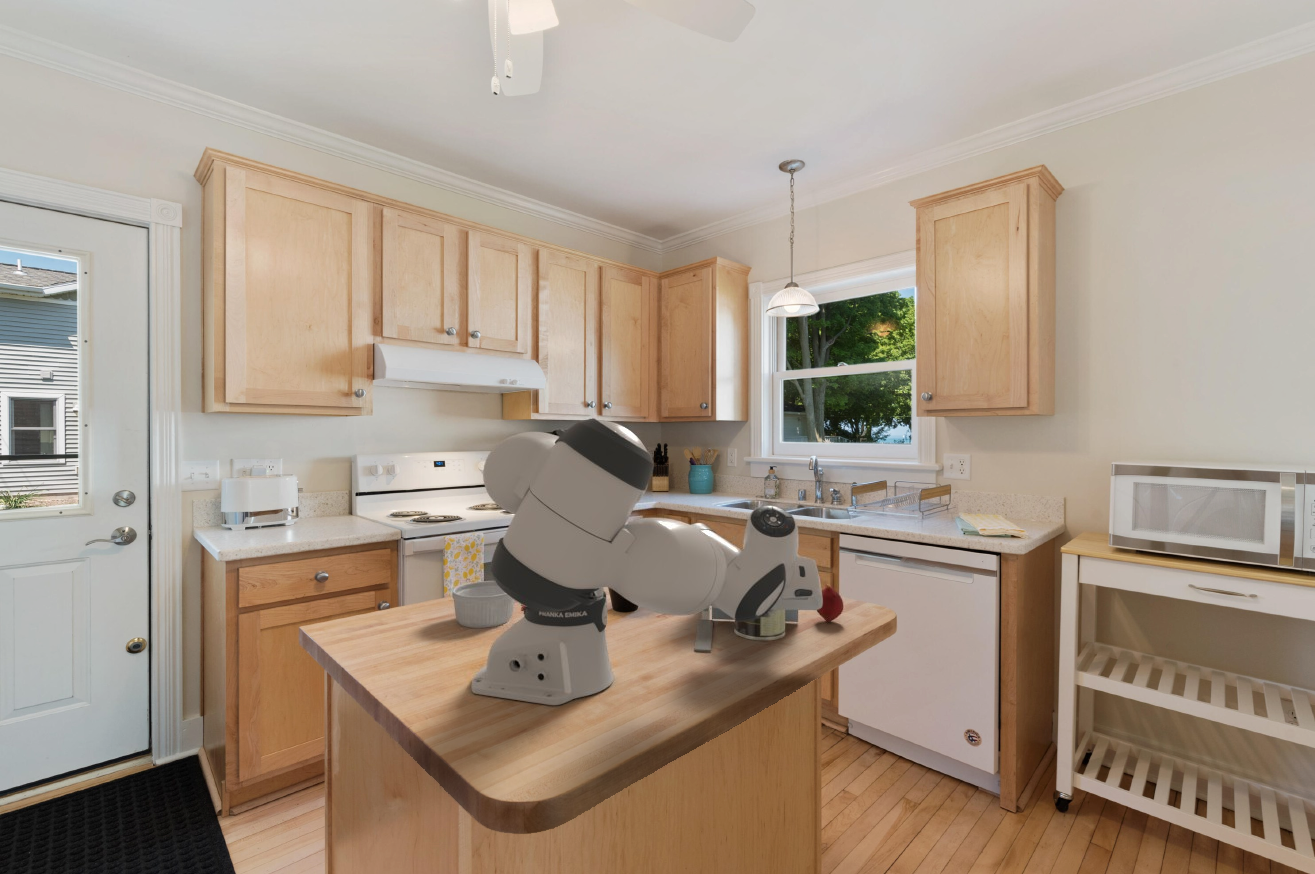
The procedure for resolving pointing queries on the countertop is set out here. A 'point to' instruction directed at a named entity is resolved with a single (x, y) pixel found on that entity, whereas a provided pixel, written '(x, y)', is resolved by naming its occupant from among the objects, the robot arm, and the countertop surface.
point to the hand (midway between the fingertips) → (763, 613)
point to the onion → (830, 604)
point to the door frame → (704, 632)
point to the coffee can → (762, 627)
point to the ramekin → (482, 604)
